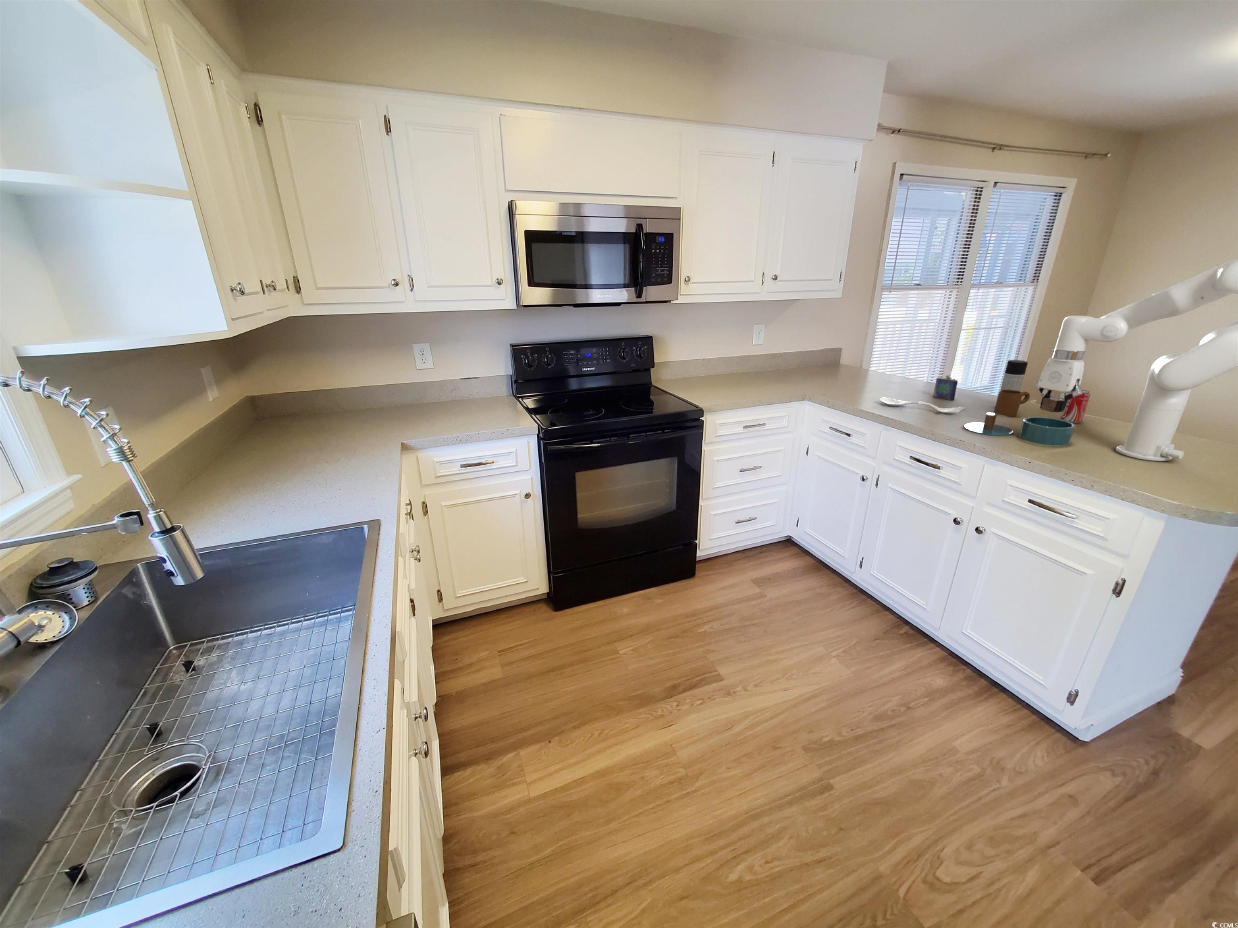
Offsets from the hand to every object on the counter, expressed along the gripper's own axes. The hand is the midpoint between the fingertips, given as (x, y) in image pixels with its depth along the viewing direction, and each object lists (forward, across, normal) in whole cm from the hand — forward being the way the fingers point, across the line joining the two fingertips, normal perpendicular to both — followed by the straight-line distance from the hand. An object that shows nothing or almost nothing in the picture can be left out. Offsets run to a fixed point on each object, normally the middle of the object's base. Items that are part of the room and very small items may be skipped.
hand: (1051, 409), depth 166 cm
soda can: (+11, -13, +31) cm, 35 cm away
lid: (+11, -14, -8) cm, 19 cm away
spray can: (+11, -35, +26) cm, 45 cm away
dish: (+11, 0, 0) cm, 11 cm away
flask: (+12, -58, +18) cm, 62 cm away
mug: (+11, -28, +20) cm, 36 cm away
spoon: (+12, -47, -7) cm, 49 cm away
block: (0, 0, 0) cm, 0 cm away
